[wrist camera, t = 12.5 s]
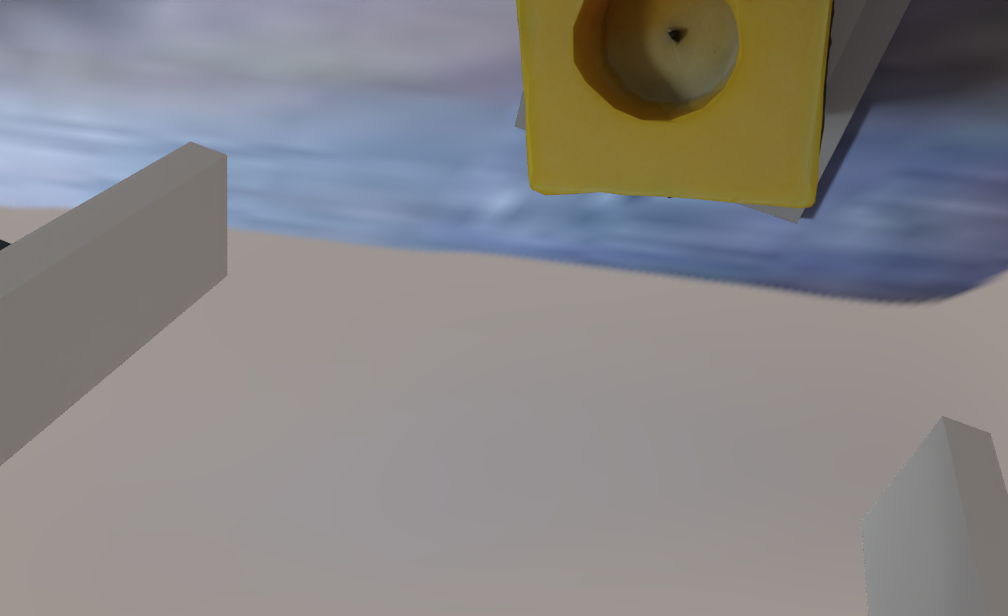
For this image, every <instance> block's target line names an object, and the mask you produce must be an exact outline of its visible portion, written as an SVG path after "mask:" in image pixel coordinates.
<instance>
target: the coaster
mask: <svg viewBox="0 0 1008 616" xmlns="http://www.w3.org/2000/svg"><path fill="white" fill-rule="evenodd" d="M910 2H911V0H834V17H833V23H832V29H831V39H832V44H831V47H830V54H829V60H828V74H827V88H826V105H825V124H824V132H823V137H822V143H821V148H820V154H819V176H818V182H819V180H820V178H821V176H822V174H823V172H824V170H825V168H826V166H827V164H828V162H829V160H830V158H831V156H832V154H833V152H834V150H835V149H836V147H837V145H838V143H839V141H840V139H841V137H842V135H843V133H844V131H845V129H846V127H847V125H848V123H849V121H850V119H851V117H852V115H853V113H854V111H855V109H856V107H857V105H858V104H859V102H860V100H861V98H862V96H863V94H864V92H865V90H866V88H867V86H868V84H869V82H870V80H871V78H872V76H873V74H874V72H875V70H876V68H877V66H878V64H879V62H880V60H881V58H882V57H883V55H884V53H885V51H886V49H887V47H888V45H889V43H890V41H891V39H892V37H893V35H894V33H895V31H896V29H897V27H898V25H899V23H900V21H901V19H902V17H903V15H904V13H905V11H906V10H907V8H908V6H909V4H910ZM515 127H518V128H521V129H524V130H526V110H525V98H524V90H523V94H522V98H521V102H520V106H519V111H518V115H517V119H516V123H515ZM738 204H741V205H744V206H747V207H749V208H752V209H755V210H758V211H761V212H764V213H767V214H770V215H773V216H775V217H778V218H781V219H784V220H787V221H790V222H793V223H796V224H797V223H798V221H799V219H800V217H801V215H802V213H803V211H804V209H805V208H789V207H779V206H768V205H756V204H744V203H738Z"/></svg>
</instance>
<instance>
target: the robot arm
mask: <svg viewBox="0 0 1008 616" xmlns="http://www.w3.org/2000/svg"><path fill="white" fill-rule="evenodd" d="M226 276H227V155H226V154H223V153H220V152H217V151H215V150H212V149H209V148H206V147H204V146H201V145H198V144H195V143H193V142H189V143H187V144H186V145H184V146H182V147H180V148H179V149H177V150H175V151H173V152H172V153H170V154H168V155H166V156H165V157H163V158H161V159H159V160H158V161H156V162H154V163H152V164H151V165H149V166H147V167H145V168H144V169H142V170H140V171H138V172H137V173H135V174H133V175H131V176H130V177H128V178H126V179H124V180H123V181H121V182H119V183H117V184H116V185H114V186H112V187H110V188H109V189H107V190H105V191H103V192H102V193H100V194H98V195H96V196H95V197H93V198H91V199H89V200H88V201H86V202H84V203H82V204H81V205H79V206H77V207H75V208H74V209H72V210H70V211H69V212H67V213H65V214H63V215H62V216H60V217H58V218H56V219H55V220H53V221H51V222H49V223H48V224H46V225H44V226H42V227H41V228H39V229H37V230H35V231H34V232H32V233H30V234H28V235H27V236H25V237H23V238H21V239H20V240H18V241H16V242H14V243H13V244H10V243H8V242H5V241H2V240H0V466H1V465H2V464H3V463H4V462H6V461H7V460H8V459H9V458H10V457H11V456H13V455H14V454H15V453H16V452H17V451H19V450H20V449H21V448H22V447H23V446H24V445H26V444H27V443H28V442H29V441H31V440H32V439H33V438H34V437H35V436H36V435H38V434H39V433H40V432H41V431H42V430H44V429H45V428H46V427H47V426H48V425H50V424H51V423H52V422H53V421H54V420H55V419H57V418H58V417H59V416H60V415H62V414H63V413H64V412H65V411H66V410H67V409H69V408H70V407H71V406H72V405H73V404H74V403H76V402H77V401H78V400H79V399H80V398H82V397H83V396H84V395H85V394H87V393H88V392H89V391H90V390H91V389H92V388H94V387H95V386H96V385H97V384H98V383H100V382H101V381H102V380H103V379H104V378H105V377H107V376H108V375H109V374H110V373H112V372H113V371H114V370H115V369H116V368H118V367H119V366H120V365H121V364H122V363H123V362H125V361H126V360H127V359H128V358H129V357H131V356H132V355H133V354H134V353H135V352H136V351H138V350H139V349H140V348H141V347H142V346H144V345H145V344H146V343H147V342H149V341H150V340H151V339H152V338H153V337H154V336H156V335H157V334H158V333H159V332H160V331H162V330H163V329H164V328H165V327H166V326H168V325H169V324H170V323H171V322H172V321H174V320H175V319H176V318H177V317H178V316H179V315H181V314H182V313H183V312H184V311H185V310H187V309H188V308H189V307H190V306H191V305H193V304H194V303H195V302H196V301H197V300H199V299H200V298H201V297H202V296H203V295H204V294H206V293H207V292H208V291H209V290H210V289H212V288H213V287H214V286H215V285H216V284H218V283H219V282H220V281H221V280H222V279H224V278H225V277H226ZM861 524H862V537H863V551H864V565H865V579H866V592H867V606H868V616H1008V494H1007V491H1006V487H1005V483H1004V480H1003V476H1002V473H1001V469H1000V466H999V462H998V459H997V455H996V452H995V448H994V445H993V441H992V438H991V434H990V433H988V432H985V431H982V430H979V429H977V428H974V427H971V426H969V425H966V424H963V423H961V422H958V421H955V420H952V419H950V418H947V417H944V416H942V417H941V419H940V420H939V421H938V423H937V424H936V425H935V426H934V428H933V429H932V430H931V432H930V433H929V434H928V436H927V437H926V438H925V439H924V441H923V442H922V443H921V444H920V446H919V447H918V448H917V450H916V451H915V452H914V453H913V455H912V456H911V457H910V459H909V460H908V461H907V463H906V464H905V465H904V466H903V468H902V469H901V470H900V472H899V473H898V474H897V475H896V477H895V478H894V479H893V481H892V482H891V483H890V484H889V486H888V487H887V488H886V490H885V491H884V492H883V493H882V495H881V496H880V497H879V499H878V500H877V501H876V503H875V504H874V505H873V506H872V508H871V509H870V510H869V511H868V513H867V514H866V515H865V517H864V518H863V519H862V520H861Z"/></svg>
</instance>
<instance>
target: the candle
mask: <svg viewBox="0 0 1008 616" xmlns="http://www.w3.org/2000/svg"><path fill="white" fill-rule="evenodd" d="M516 4H517V17H518V26H519V34H520V48H521V63H522V77H523V87H524V98H525V110H526V145H527V163H528V176H529V183H530V188H531V189H532V190H535V191H537V192H539V193H542V194H544V195H561V194H579V193H592V192H604V193H612V194H620V195H635V196H660V197H668V198H672V197H677V198H693V199H703V200H713V201H723V202H732V203H744V204H756V205H768V206H779V207H789V208H808V207H812V206H813V204H814V203H815V198H816V191H817V185H818V176H819V154H820V148H821V143H822V137H823V132H824V124H825V105H826V88H827V74H828V60H829V54H830V47H831V44H832V39H831V29H832V23H833V17H834V0H516Z"/></svg>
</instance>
